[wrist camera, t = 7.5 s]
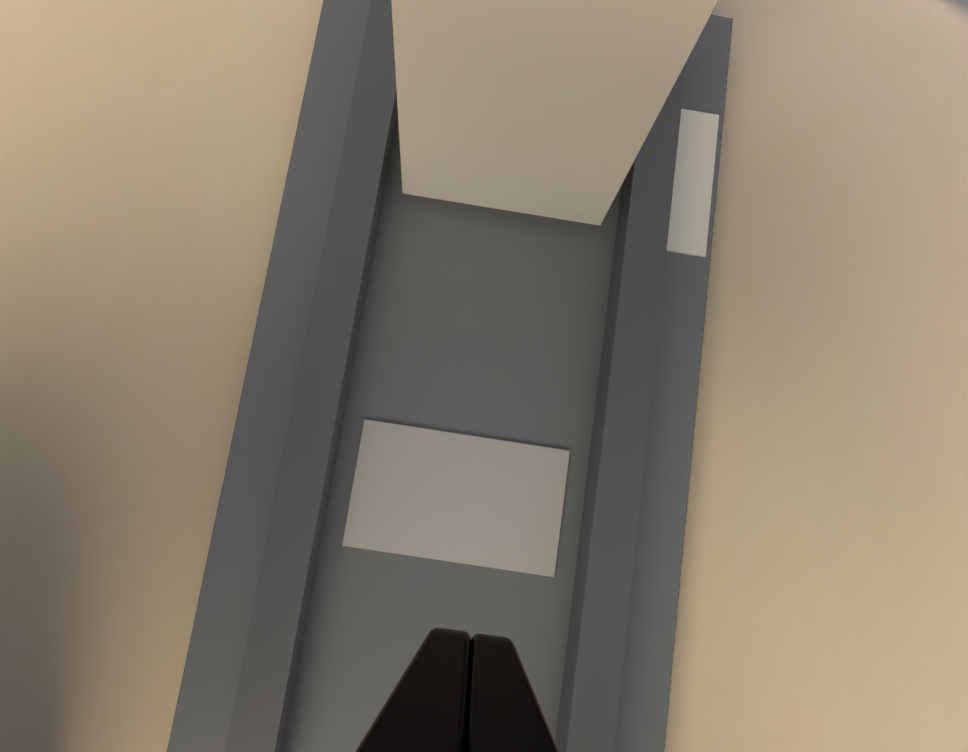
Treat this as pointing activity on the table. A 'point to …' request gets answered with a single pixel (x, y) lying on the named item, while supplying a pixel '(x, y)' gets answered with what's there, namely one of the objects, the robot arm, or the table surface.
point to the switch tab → (534, 97)
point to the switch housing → (457, 429)
